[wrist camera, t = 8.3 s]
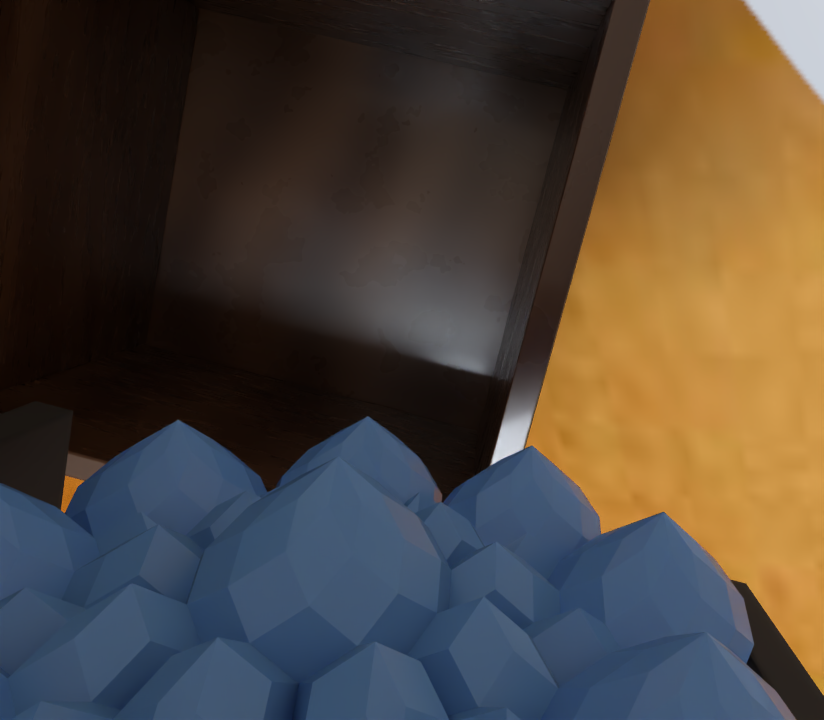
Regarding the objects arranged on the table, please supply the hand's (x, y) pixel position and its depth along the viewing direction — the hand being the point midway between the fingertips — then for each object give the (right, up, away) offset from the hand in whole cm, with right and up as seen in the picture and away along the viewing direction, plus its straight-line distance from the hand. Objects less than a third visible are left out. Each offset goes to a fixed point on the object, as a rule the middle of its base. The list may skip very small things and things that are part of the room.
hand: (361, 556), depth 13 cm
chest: (-2, +10, +19) cm, 22 cm away
